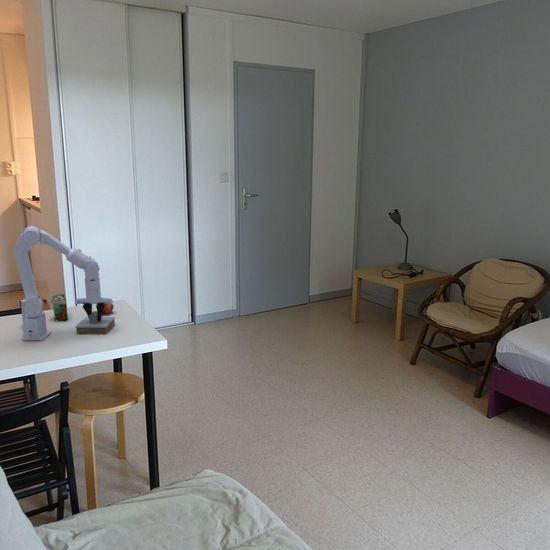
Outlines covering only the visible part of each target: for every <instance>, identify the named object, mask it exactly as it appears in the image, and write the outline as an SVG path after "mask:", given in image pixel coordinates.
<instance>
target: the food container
mask: <svg viewBox="0 0 550 550" xmlns="http://www.w3.org/2000/svg"><path fill="white" fill-rule="evenodd" d="M50 303H51V304H52V309H53V315H54V319H55V321H58V322H66V320H69V316H68V307H67V299H66V297H65V293H64V292H62V293H55V294H53V295H52V296H51V298H50Z"/></svg>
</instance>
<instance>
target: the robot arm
mask: <svg viewBox="0 0 550 550" xmlns="http://www.w3.org/2000/svg"><path fill="white" fill-rule="evenodd" d="M19 234H20V235H19V236H18V238H17V241H16V243H15V245H14V246H13V247H14V248H13V252H12V253H13V255H14V260H15V263H16V266H17V271H18V273H19V278H20V283H21V286H22V290H23V293H24V299H25V301H26V307H25V312H26V314H25V317H26V319H25V321H24V323H23V322H22V331H23V332H22V333H23V338H21V341H44V339H46V338H47V336H49V335H50V334H51V333H52V331H48V330H47V329H48V326H47V319H46V312H45V311H43V307H44V300H43V299H42V298H41V296H40V294H39V291H38V289H37V286H36V281H35V276H34V273H33V270H32V265H31V262H30V257H29V253H28V252H29V251H30V250H31V249H32V247H34V246H35V245H37V244H38V243H39V245H40V246H41V245H45V246H50V247H51V248H53V249H54V250H57V252H59V253H61V254H63V255H64V256H65V260H66V261H68V262H69V263H70V264H72V265H74V266H75V267H77V268H79V270H80V269H81V270H83V272H84V276H85V277H84V285H85V297H84V298H76V299H74V300H75V305H82V309H83V310H84V312H85V313H86V315H87V317H88V318H89V315H90V314H91V313H92V312H93V305H94V304H95V308H96V311H97V313H98V321H101V318H102V317H103V314H102V313H103V309H104V307H105V304H112V303H113V302H112V301H113V298H107V297H102V294H101V282H100V273H99V272H100V267H99V264H98V262H97V260H96V259H94V258H92V257H91V256H88V255H87V254H85V253H83V252H82V250H81V249H80V248H78V249H77V248H70V247H69V246H67V245H65V243H63V242H61V241H60V240H58V239H57V238H56V237H54V236H53V235H51V234H50V233H48V232H47V231H46V230H43V229H40V228H39V227H37V226H35V225H28V226H26V227H25V228H24V229H23V230H22V231H21V232H20V233H19ZM96 304H98V305H97V306H96Z"/></svg>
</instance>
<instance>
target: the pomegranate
mask: <svg viewBox="0 0 550 550" xmlns="http://www.w3.org/2000/svg"><path fill="white" fill-rule="evenodd" d="M113 302H114V300H112V304H105V307H104V309H103V313H102V315H108V314H110V313H112V312H113V310H114V307H115V306H114V303H113ZM97 305H98V304H95V307H96V306H97Z"/></svg>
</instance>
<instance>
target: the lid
mask: <svg viewBox="0 0 550 550" xmlns="http://www.w3.org/2000/svg"><path fill="white" fill-rule="evenodd" d="M115 317H116V316H102V318H101V321H98V313H97V310H96V311H95V310H92V313H91V314H90V315H89V318H88V316H85V317H84V318H83V319H82V320H80V321H79V323H77V324H76V325H75V329H76V328H107V326H108V325H109V324H110V323H111V322H112V321H113V320H115Z"/></svg>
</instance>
